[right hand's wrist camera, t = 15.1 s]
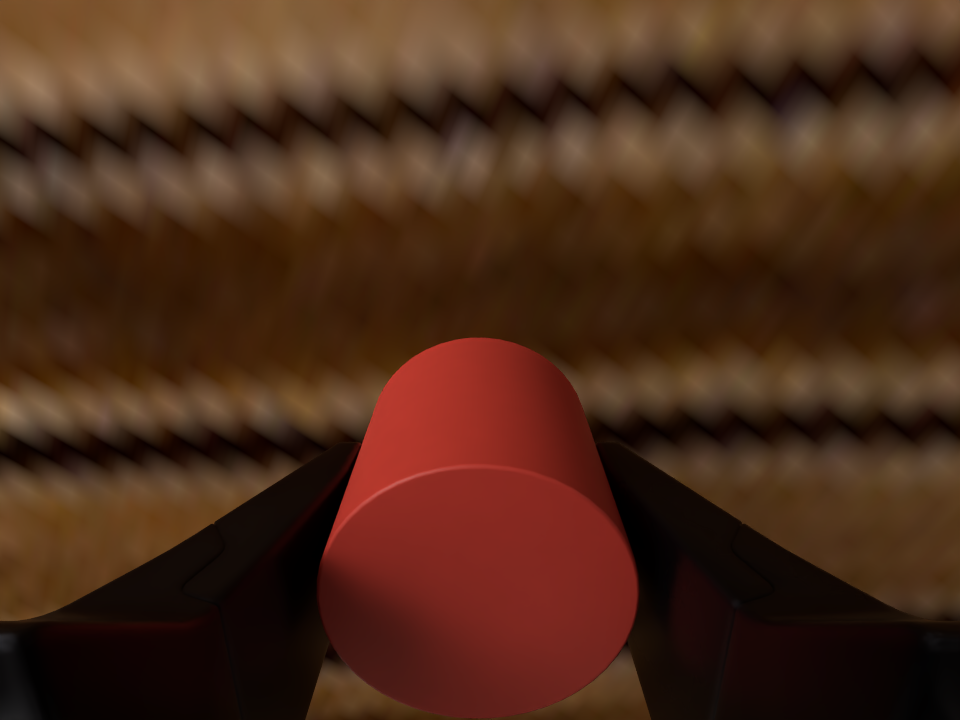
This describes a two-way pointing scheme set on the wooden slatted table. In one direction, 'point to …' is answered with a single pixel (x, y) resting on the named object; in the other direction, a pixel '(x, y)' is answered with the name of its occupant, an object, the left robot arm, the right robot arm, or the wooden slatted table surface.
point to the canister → (478, 539)
